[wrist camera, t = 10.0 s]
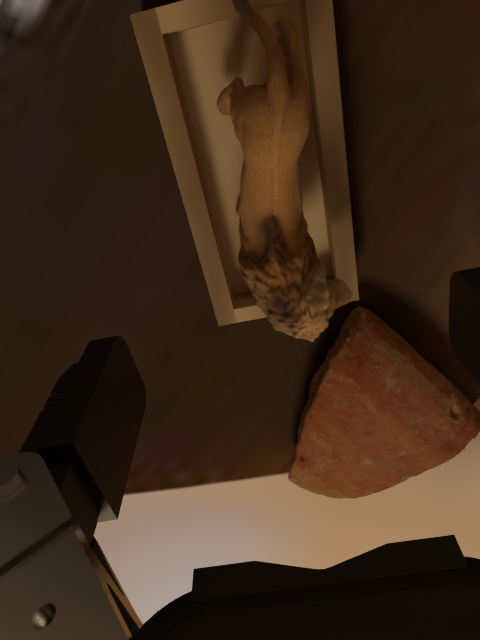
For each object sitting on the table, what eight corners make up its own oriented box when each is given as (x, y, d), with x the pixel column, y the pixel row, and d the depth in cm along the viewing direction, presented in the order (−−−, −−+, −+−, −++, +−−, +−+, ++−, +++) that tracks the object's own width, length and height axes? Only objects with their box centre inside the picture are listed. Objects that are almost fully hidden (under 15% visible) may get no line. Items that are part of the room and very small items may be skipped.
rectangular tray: (220, 304, 31) (218, 326, 29) (141, 18, 22) (129, 14, 20) (349, 280, 30) (359, 300, 28) (318, -30, 22) (329, -40, 19)
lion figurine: (328, 243, 29) (367, 343, 22) (248, 263, 29) (263, 366, 23) (287, -38, 19) (335, -9, 12) (168, 2, 20) (154, 49, 13)
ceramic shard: (219, 457, 32) (377, 312, 28) (222, 409, 38) (352, 284, 34) (357, 561, 36) (513, 444, 32) (339, 502, 42) (469, 398, 38)
